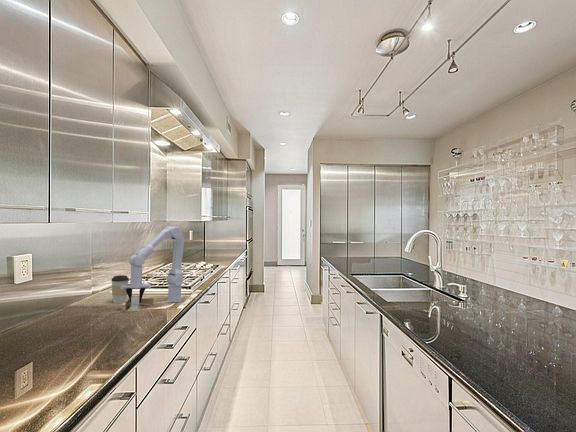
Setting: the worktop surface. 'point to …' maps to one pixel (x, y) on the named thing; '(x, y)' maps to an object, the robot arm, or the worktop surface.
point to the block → (134, 303)
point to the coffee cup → (119, 288)
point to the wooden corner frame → (143, 302)
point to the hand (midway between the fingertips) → (135, 302)
